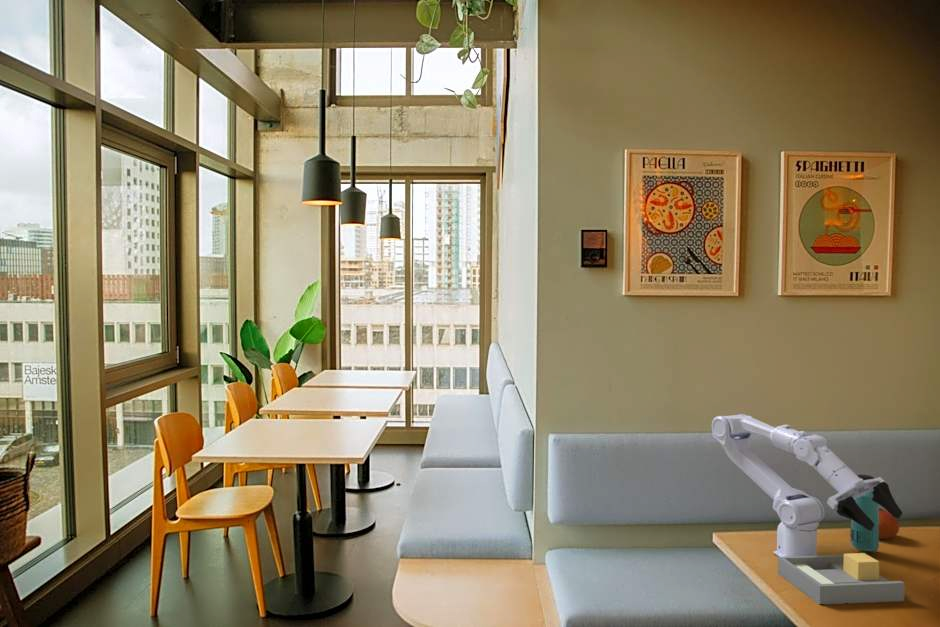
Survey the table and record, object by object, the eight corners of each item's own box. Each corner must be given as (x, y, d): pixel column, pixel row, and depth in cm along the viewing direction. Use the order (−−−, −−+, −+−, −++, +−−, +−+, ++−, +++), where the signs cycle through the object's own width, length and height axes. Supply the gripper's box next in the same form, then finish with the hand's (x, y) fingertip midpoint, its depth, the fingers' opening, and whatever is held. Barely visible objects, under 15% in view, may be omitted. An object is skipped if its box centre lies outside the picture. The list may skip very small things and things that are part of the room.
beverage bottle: (883, 553, 169) (885, 476, 168) (871, 559, 165) (872, 480, 164) (857, 545, 174) (858, 471, 174) (844, 551, 170) (846, 474, 170)
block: (843, 570, 152) (843, 553, 152) (863, 570, 152) (863, 552, 152) (858, 580, 147) (858, 562, 147) (878, 579, 147) (879, 561, 147)
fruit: (905, 544, 175) (906, 514, 175) (869, 541, 177) (869, 512, 177) (890, 532, 184) (890, 504, 184) (855, 530, 186) (856, 502, 185)
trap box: (777, 573, 156) (778, 556, 156) (854, 570, 158) (854, 554, 158) (819, 604, 140) (820, 586, 140) (904, 601, 142) (904, 582, 142)
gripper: (817, 475, 150) (864, 522, 140) (868, 454, 153) (918, 499, 143) (810, 493, 154) (855, 541, 144) (860, 473, 157) (907, 518, 147)
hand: (886, 521), depth 144 cm, fingers open, 7 cm apart
